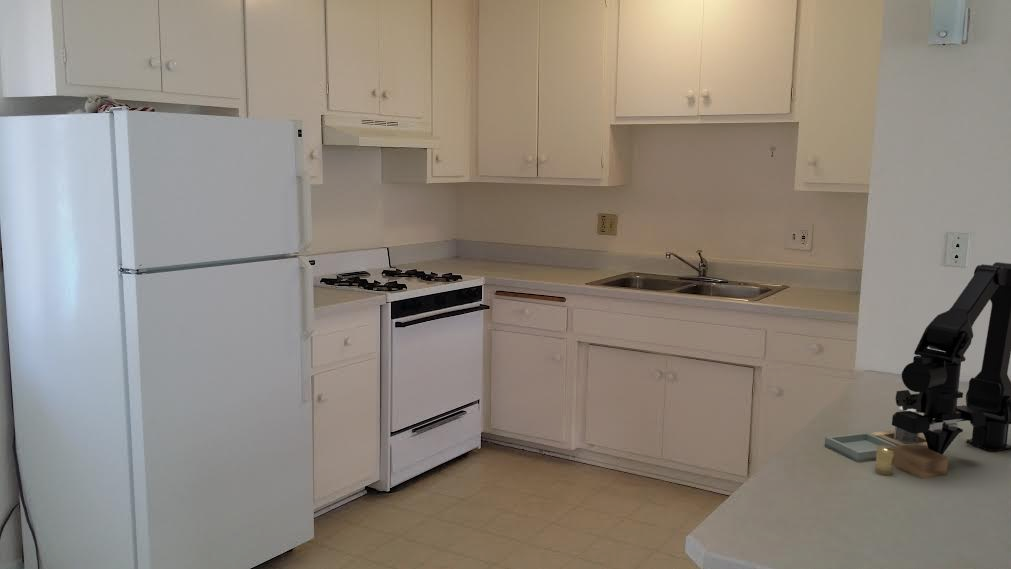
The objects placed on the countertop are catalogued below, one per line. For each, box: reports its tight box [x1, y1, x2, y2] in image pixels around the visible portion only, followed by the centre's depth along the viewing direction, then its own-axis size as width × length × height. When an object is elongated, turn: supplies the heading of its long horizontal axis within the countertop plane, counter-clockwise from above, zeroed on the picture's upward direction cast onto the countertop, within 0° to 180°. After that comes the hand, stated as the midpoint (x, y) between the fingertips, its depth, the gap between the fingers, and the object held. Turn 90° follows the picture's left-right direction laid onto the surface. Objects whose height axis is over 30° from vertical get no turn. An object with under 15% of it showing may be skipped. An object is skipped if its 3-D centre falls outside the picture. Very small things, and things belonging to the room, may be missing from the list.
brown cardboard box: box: [893, 444, 950, 479], centre depth 169 cm, size 6×8×4 cm
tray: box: [824, 431, 897, 463], centre depth 179 cm, size 11×10×2 cm
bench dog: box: [874, 445, 895, 476], centre depth 167 cm, size 3×3×5 cm
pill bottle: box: [894, 406, 920, 445], centre depth 182 cm, size 5×5×8 cm
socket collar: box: [869, 429, 928, 448], centre depth 183 cm, size 10×10×2 cm
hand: (934, 460), depth 171 cm, fingers closed
